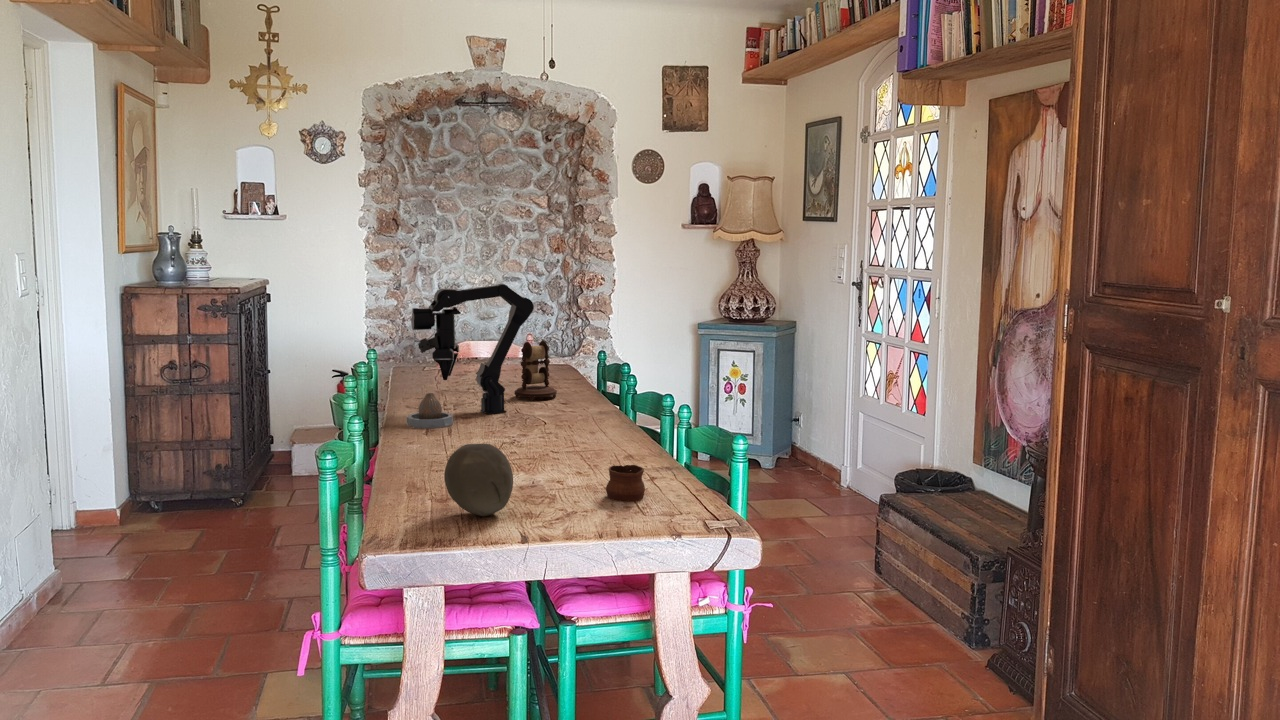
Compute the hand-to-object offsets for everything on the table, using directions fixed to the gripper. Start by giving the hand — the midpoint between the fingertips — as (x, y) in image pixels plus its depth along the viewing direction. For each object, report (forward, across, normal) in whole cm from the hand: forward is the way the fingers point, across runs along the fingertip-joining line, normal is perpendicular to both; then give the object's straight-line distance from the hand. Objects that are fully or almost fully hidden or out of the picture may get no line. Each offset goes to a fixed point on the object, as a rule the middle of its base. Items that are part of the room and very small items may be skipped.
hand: (446, 378), depth 323 cm
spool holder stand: (+12, -32, +26) cm, 44 cm away
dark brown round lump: (+12, +115, +20) cm, 118 cm away
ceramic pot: (+13, +102, +51) cm, 115 cm away
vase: (+12, +15, -4) cm, 19 cm away
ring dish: (+12, +15, -4) cm, 19 cm away
